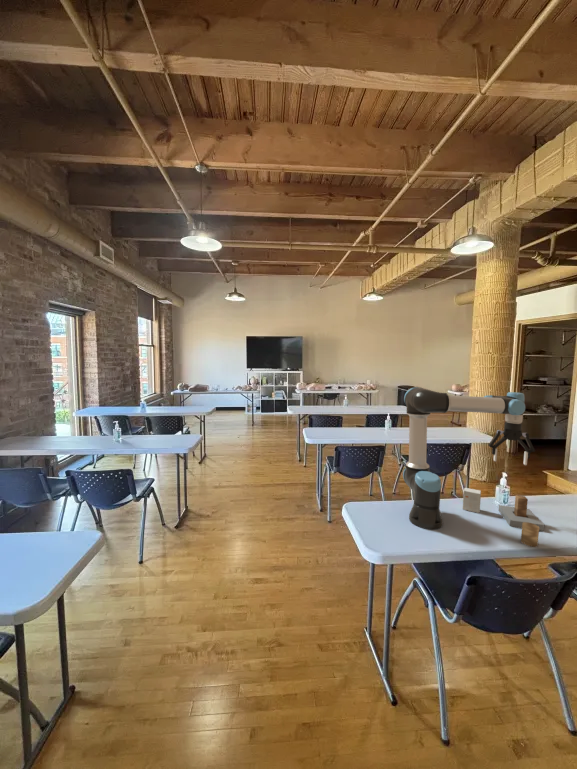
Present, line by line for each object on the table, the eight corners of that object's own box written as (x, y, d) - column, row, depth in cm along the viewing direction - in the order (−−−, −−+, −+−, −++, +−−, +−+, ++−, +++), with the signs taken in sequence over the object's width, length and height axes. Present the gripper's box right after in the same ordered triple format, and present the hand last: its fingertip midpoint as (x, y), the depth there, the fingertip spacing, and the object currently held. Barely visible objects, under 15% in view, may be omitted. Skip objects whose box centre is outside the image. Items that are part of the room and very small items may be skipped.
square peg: (516, 521, 168) (518, 498, 167) (513, 517, 172) (515, 495, 171) (525, 522, 167) (527, 499, 166) (522, 519, 171) (524, 496, 170)
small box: (479, 509, 181) (481, 490, 180) (479, 513, 176) (480, 493, 175) (463, 505, 185) (464, 487, 184) (462, 509, 180) (463, 490, 179)
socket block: (509, 526, 163) (510, 520, 163) (498, 510, 180) (498, 505, 180) (543, 531, 159) (544, 525, 159) (528, 514, 176) (529, 509, 176)
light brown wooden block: (523, 544, 146) (524, 527, 146) (519, 538, 152) (520, 521, 151) (539, 548, 144) (541, 530, 143) (534, 541, 150) (536, 523, 149)
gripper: (487, 421, 174) (484, 461, 176) (545, 426, 166) (540, 468, 168) (484, 418, 181) (481, 457, 183) (539, 423, 173) (535, 463, 175)
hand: (509, 462), depth 175 cm, fingers open, 13 cm apart
